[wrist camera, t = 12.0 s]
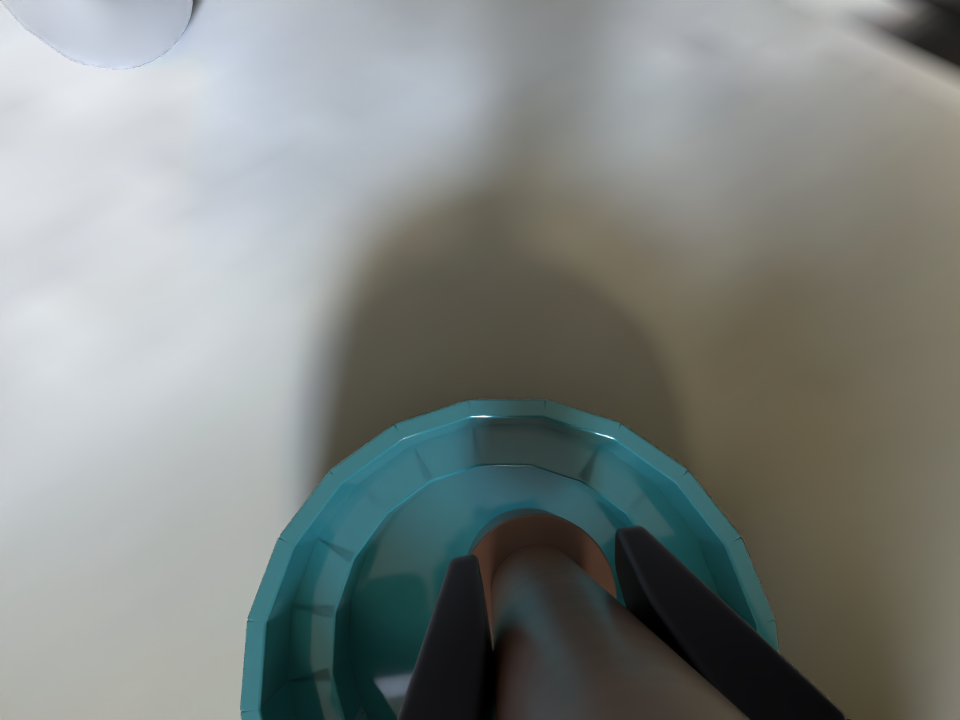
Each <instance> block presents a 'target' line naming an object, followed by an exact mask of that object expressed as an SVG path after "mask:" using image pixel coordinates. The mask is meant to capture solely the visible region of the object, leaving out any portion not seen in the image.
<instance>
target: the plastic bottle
mask: <svg viewBox="0 0 960 720" xmlns="http://www.w3.org/2000/svg"><path fill="white" fill-rule="evenodd" d="M0 1H1V2H2V3H3V5H4V6H5V7H6V8H7V10H8V11H9V12H10V13H11V14H12V16H13V17H14V18H15V19H16V20H17V21H18V22H19V23H20V24H21V25H22V26H23V27H24V28H25V29H26V30H27V31H29V32H30V33H32V34H33V35H34V36H36V37H37V38H39V39H40V40H41V41H43V42H44V43H45V44H47V45H48V46H50V47H51V48H52V49H54V50H55V51H57V52H58V53H60V54H61V55H63V56H65V57H66V58H68V59H69V60H72V61H75V62H78V63H80V64H83V65H88V66H94V67H99V68H105V69H112V70H117V69H129V68H134V67H138V66H141V65H144V64H146V63H149V62H151V61H153V60H155V59H157V58H158V57H160V56H162V55H163V54H165V53H166V52H167V51H168V50H169V49H170V48H171V47H173V46H174V45H175V43H176V42H177V41H178V40H179V39H180V37H181V36H182V35H183V33H184V31H185V29H186V27H187V25H188V23H189V20H190V16H191V13H192V4H193V0H0Z"/></svg>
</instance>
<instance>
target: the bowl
mask: <svg viewBox="0 0 960 720" xmlns="http://www.w3.org/2000/svg"><path fill="white" fill-rule="evenodd" d="M521 508H535V509H541V510H545V511H548V512H551V513H553V514H555V515H557V516H560V517H562V518H564V519H566V520H568V521H570V522H572V523H574V524H576V525H577V526H579V527H580V528H582V529H583V530H584V531H585V532H587V533H588V534H589V535H590V536H591V537H592V538H593V539H594V540H595V541H596V543H597V544H598V545H599V547H600V548H601V549H602V551H603V552H604V554H605V556H606V558H607V560H608V562H609V564H610V567H611V569H612V573H613V576H614V580H615V586H616V599H617V600H618V601H619V602H620V603H621V604H622V605H623V606H624V607H625V608H626V605H625V602H624V598H623V595H622V591H621V588H620V584H619V581H618V577H617V573H616V568H615V534H616V531H617V530H618V529H620V528H626V527H632V526H642V527H644V528H645V529H647V530H648V531H649V532H650V533H651V534H652V535H653V536H654V537H655V538H656V539H657V540H658V541H659V542H661V543H662V544H663V545H664V546H665V547H666V548H667V549H668V550H669V551H670V552H671V553H672V554H673V555H674V556H676V557H677V558H678V559H679V560H680V561H681V562H682V563H683V564H684V565H685V566H686V567H687V568H688V569H690V570H691V571H692V572H693V573H694V574H695V575H696V576H697V577H698V578H699V579H700V580H701V581H702V582H704V583H705V584H706V585H707V586H708V587H709V588H710V589H711V590H712V591H713V592H714V593H715V594H716V595H717V596H719V597H720V598H721V599H722V600H723V601H724V602H725V603H726V604H727V605H728V606H729V607H730V608H731V609H733V610H734V611H735V612H736V613H737V614H738V615H739V616H740V617H741V618H742V619H743V620H744V621H745V622H746V623H748V624H749V625H750V626H751V627H752V628H753V629H754V630H755V631H756V632H757V633H758V634H759V635H760V636H762V637H763V638H764V639H765V640H766V641H767V642H768V643H769V644H770V645H771V646H772V647H773V648H774V649H776V650H777V651H778V652H779V649H778V639H777V629H776V621H775V620H774V615H773V613H772V610H771V608H770V605H769V603H768V600H767V598H766V596H765V593H764V591H763V588H762V586H761V583H760V581H759V578H758V576H757V573H756V571H755V569H754V566H753V564H752V561H751V559H750V556H749V554H748V551H747V549H746V547H745V544H744V542H743V539H742V538H741V537H740V534H739V533H738V531H737V530H736V529H735V528H734V526H733V525H732V524H731V523H730V521H729V520H728V519H727V518H726V516H725V515H724V514H723V513H722V511H721V510H720V509H719V508H718V506H717V505H716V504H715V502H714V501H713V500H712V499H711V497H710V496H709V495H708V494H707V492H706V491H705V490H704V489H703V487H702V486H701V485H700V484H699V482H698V481H697V480H696V479H695V477H694V476H693V475H692V474H691V472H690V471H689V470H687V469H686V467H684V466H683V465H681V464H680V463H678V462H677V461H676V460H674V459H673V458H671V457H670V456H668V455H667V454H666V453H664V452H663V451H661V450H660V449H658V448H657V447H655V446H654V445H653V444H651V443H650V442H648V441H647V440H645V439H644V438H642V437H641V436H640V435H638V434H637V433H635V432H634V431H632V430H631V429H629V428H628V427H627V426H625V425H624V424H620V423H619V422H618V421H615V420H611V419H608V418H605V417H602V416H599V415H596V414H592V413H589V412H586V411H583V410H580V409H577V408H573V407H570V406H567V405H564V404H561V403H557V402H554V401H551V400H545V399H470V400H464V401H461V402H458V403H455V404H452V405H449V406H446V407H443V408H440V409H437V410H434V411H431V412H428V413H424V414H421V415H418V416H415V417H412V418H409V419H406V420H403V421H400V422H397V423H396V424H393V425H391V426H390V427H389V428H387V429H386V430H385V431H383V432H382V433H380V434H379V435H378V436H376V437H375V438H373V439H372V440H371V441H369V442H368V443H366V444H365V445H364V446H362V447H361V448H359V449H358V450H357V451H355V452H354V453H352V454H351V455H350V456H348V457H347V458H345V459H344V460H343V461H341V462H340V463H338V464H337V465H336V466H334V467H333V468H331V471H329V472H328V473H327V474H326V475H325V476H324V478H323V479H322V480H321V482H320V483H319V484H318V486H317V487H316V488H315V490H314V491H313V492H312V493H311V495H310V496H309V497H308V499H307V500H306V501H305V503H304V504H303V505H302V507H301V508H300V509H299V511H298V512H297V513H296V514H295V516H294V517H293V518H292V520H291V521H290V522H289V524H288V525H287V526H286V528H285V529H284V530H283V531H282V533H281V534H280V537H279V538H278V539H277V542H276V544H275V547H274V550H273V552H272V555H271V558H270V560H269V563H268V565H267V568H266V571H265V573H264V576H263V579H262V581H261V584H260V587H259V589H258V592H257V594H256V597H255V600H254V602H253V605H252V608H251V610H250V613H249V615H248V619H249V620H248V621H247V629H246V642H245V654H244V667H243V680H242V693H241V705H240V710H241V719H242V720H397V719H398V716H399V713H400V710H401V706H402V703H403V700H404V697H405V694H406V691H407V688H408V685H409V682H410V679H411V676H412V673H413V670H414V667H415V664H416V661H417V658H418V655H419V652H420V649H421V646H422V643H423V640H424V637H425V634H426V631H427V628H428V625H429V622H430V619H431V616H432V613H433V610H434V607H435V604H436V601H437V598H438V595H439V592H440V589H441V586H442V583H443V580H444V577H445V574H446V571H447V568H448V565H449V563H450V561H451V560H452V559H453V558H457V557H462V556H467V555H468V552H469V549H470V547H471V544H472V542H473V541H474V539H475V537H476V536H477V534H478V533H479V532H480V530H481V529H482V528H483V527H484V526H485V525H486V524H487V523H488V522H490V521H491V520H492V519H494V518H495V517H497V516H499V515H500V514H503V513H505V512H508V511H511V510H515V509H521Z"/></svg>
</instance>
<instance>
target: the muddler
mask: <svg viewBox="0 0 960 720" xmlns="http://www.w3.org/2000/svg"><path fill="white" fill-rule="evenodd" d="M468 555H475V556H476V557H477V558H478V562H479V567H480V572H481V577H482V582H483V587H484V593H485V599H486V606H487V613H488V619H489V626H490V633H491V640H492V646H493V653H494V682H495V704H496V720H750V719H749V718H748V717H747V716H746V715H745V714H744V713H743V712H741V711H740V710H739V709H738V708H737V707H736V706H735V705H734V704H733V703H731V702H730V701H729V700H728V699H727V698H726V697H725V696H724V695H722V694H721V693H720V692H719V691H718V690H717V689H716V688H715V687H714V686H712V685H711V684H710V683H709V682H708V681H707V680H706V679H705V678H704V677H702V676H701V675H700V674H699V673H698V672H697V671H696V670H695V669H693V668H692V667H691V666H690V665H689V664H688V663H687V662H686V661H685V660H683V659H682V658H681V657H680V656H679V655H678V654H677V653H676V652H675V651H673V650H672V649H671V648H670V647H669V646H668V645H667V644H666V643H664V642H663V641H662V640H661V639H660V638H659V637H658V636H657V635H656V634H654V633H653V632H652V631H651V630H650V629H649V628H648V627H647V626H646V625H644V624H643V623H642V622H641V621H640V620H639V619H638V618H637V617H635V616H634V615H633V614H632V613H631V612H630V611H629V610H628V609H627V608H625V607H624V606H623V605H622V604H621V603H620V602H619V601H618V600H617V599H616V586H615V580H614V576H613V573H612V569H611V567H610V564H609V562H608V560H607V558H606V556H605V554H604V552H603V551H602V549H601V548H600V547H599V545H598V544H597V543H596V541H595V540H594V539H593V538H592V537H591V536H590V535H589V534H588V533H587V532H585V531H584V530H583V529H582V528H580V527H579V526H577V525H576V524H574V523H572V522H570V521H568V520H566V519H564V518H562V517H560V516H557V515H555V514H553V513H551V512H548V511H545V510H541V509H535V508H521V509H515V510H511V511H508V512H505V513H503V514H500V515H499V516H497V517H495V518H494V519H492V520H491V521H490V522H488V523H487V524H486V525H485V526H484V527H483V528H482V529H481V530H480V532H479V533H478V534H477V536H476V537H475V539H474V541H473V542H472V544H471V547H470V549H469V552H468ZM468 555H467V556H468Z"/></svg>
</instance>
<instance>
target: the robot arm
mask: <svg viewBox="0 0 960 720" xmlns="http://www.w3.org/2000/svg"><path fill="white" fill-rule="evenodd" d="M615 568H616V573H617V577H618V581H619V584H620V588H621V591H622V595H623V598H624V602H625V605H626V608H627V609H628V610H629V611H630V612H631V613H632V614H633V615H634V616H635V617H637V618H638V619H639V620H640V621H641V622H642V623H643V624H644V625H646V626H647V627H648V628H649V629H650V630H651V631H652V632H653V633H654V634H656V635H657V636H658V637H659V638H660V639H661V640H662V641H663V642H664V643H666V644H667V645H668V646H669V647H670V648H671V649H672V650H673V651H675V652H676V653H677V654H678V655H679V656H680V657H681V658H682V659H683V660H685V661H686V662H687V663H688V664H689V665H690V666H691V667H692V668H693V669H695V670H696V671H697V672H698V673H699V674H700V675H701V676H702V677H704V678H705V679H706V680H707V681H708V682H709V683H710V684H711V685H712V686H714V687H715V688H716V689H717V690H718V691H719V692H720V693H721V694H722V695H724V696H725V697H726V698H727V699H728V700H729V701H730V702H731V703H733V704H734V705H735V706H736V707H737V708H738V709H739V710H740V711H741V712H743V713H744V714H745V715H746V716H747V717H748V718H749V719H750V720H845V714H844V713H843V712H842V711H841V710H840V709H839V708H838V707H837V706H836V705H835V704H834V703H832V702H831V701H830V700H829V699H828V698H827V697H826V696H825V695H824V694H823V693H822V692H821V691H820V690H818V689H817V688H816V687H815V686H814V685H813V684H812V683H811V682H810V681H809V680H808V679H807V678H806V677H805V676H803V675H802V674H801V673H800V672H799V671H798V670H797V669H796V668H795V667H794V666H793V665H792V664H791V663H789V662H788V661H787V660H786V659H785V658H784V657H783V656H782V655H781V654H780V653H779V652H778V651H777V650H776V649H774V648H773V647H772V646H771V645H770V644H769V643H768V642H767V641H766V640H765V639H764V638H763V637H762V636H760V635H759V634H758V633H757V632H756V631H755V630H754V629H753V628H752V627H751V626H750V625H749V624H748V623H746V622H745V621H744V620H743V619H742V618H741V617H740V616H739V615H738V614H737V613H736V612H735V611H734V610H733V609H731V608H730V607H729V606H728V605H727V604H726V603H725V602H724V601H723V600H722V599H721V598H720V597H719V596H717V595H716V594H715V593H714V592H713V591H712V590H711V589H710V588H709V587H708V586H707V585H706V584H705V583H704V582H702V581H701V580H700V579H699V578H698V577H697V576H696V575H695V574H694V573H693V572H692V571H691V570H690V569H688V568H687V567H686V566H685V565H684V564H683V563H682V562H681V561H680V560H679V559H678V558H677V557H676V556H674V555H673V554H672V553H671V552H670V551H669V550H668V549H667V548H666V547H665V546H664V545H663V544H662V543H661V542H659V541H658V540H657V539H656V538H655V537H654V536H653V535H652V534H651V533H650V532H649V531H648V530H647V529H645V528H644V527H642V526H632V527H626V528H620V529H618V530H617V531H616V534H615ZM397 720H496V704H495V682H494V653H493V646H492V640H491V633H490V626H489V619H488V613H487V606H486V599H485V593H484V587H483V582H482V577H481V572H480V567H479V562H478V558H477V557H476V556H475V555H468V556H462V557H457V558H453V559H452V560H451V561H450V563H449V565H448V568H447V571H446V574H445V577H444V580H443V583H442V586H441V589H440V592H439V595H438V598H437V601H436V604H435V607H434V610H433V613H432V616H431V619H430V622H429V625H428V628H427V631H426V634H425V637H424V640H423V643H422V646H421V649H420V652H419V655H418V658H417V661H416V664H415V667H414V670H413V673H412V676H411V679H410V682H409V685H408V688H407V691H406V694H405V697H404V700H403V703H402V706H401V710H400V713H399V716H398V719H397ZM846 720H851V719H846Z"/></svg>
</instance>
